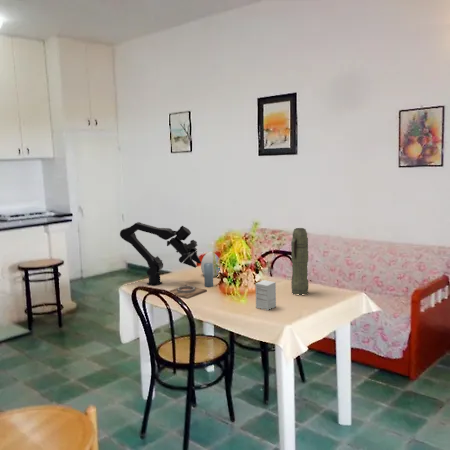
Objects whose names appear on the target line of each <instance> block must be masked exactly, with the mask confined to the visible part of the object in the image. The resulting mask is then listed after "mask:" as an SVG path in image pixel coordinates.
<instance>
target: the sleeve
mask: <svg viewBox="0 0 450 450" xmlns="http://www.w3.org/2000/svg"><path fill="white" fill-rule="evenodd" d="M203 278H204V287H205V288H213V287H214V277H213V263H205V264H204V274H203Z"/></svg>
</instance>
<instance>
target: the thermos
mask: <svg viewBox="0 0 450 450" xmlns="http://www.w3.org/2000/svg"><path fill="white" fill-rule="evenodd" d="M290 243H291V244H290V245H291V246H290V247H291V252H290V253H291V254H290V255H291V263H292V268H291V269H292V279H291V294H292V293H293V294H292V295H294V294H299V295H302V294H307V293H308V294H309V280H308V262H309V245H308V244H309V239H308V233H307V229H306V228H303V227H297V228H296V227H295V228H294V229H293V232H292V239H291V242H290ZM308 294H307V295H308ZM299 295H298V296H299ZM302 296H303V295H302Z"/></svg>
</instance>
